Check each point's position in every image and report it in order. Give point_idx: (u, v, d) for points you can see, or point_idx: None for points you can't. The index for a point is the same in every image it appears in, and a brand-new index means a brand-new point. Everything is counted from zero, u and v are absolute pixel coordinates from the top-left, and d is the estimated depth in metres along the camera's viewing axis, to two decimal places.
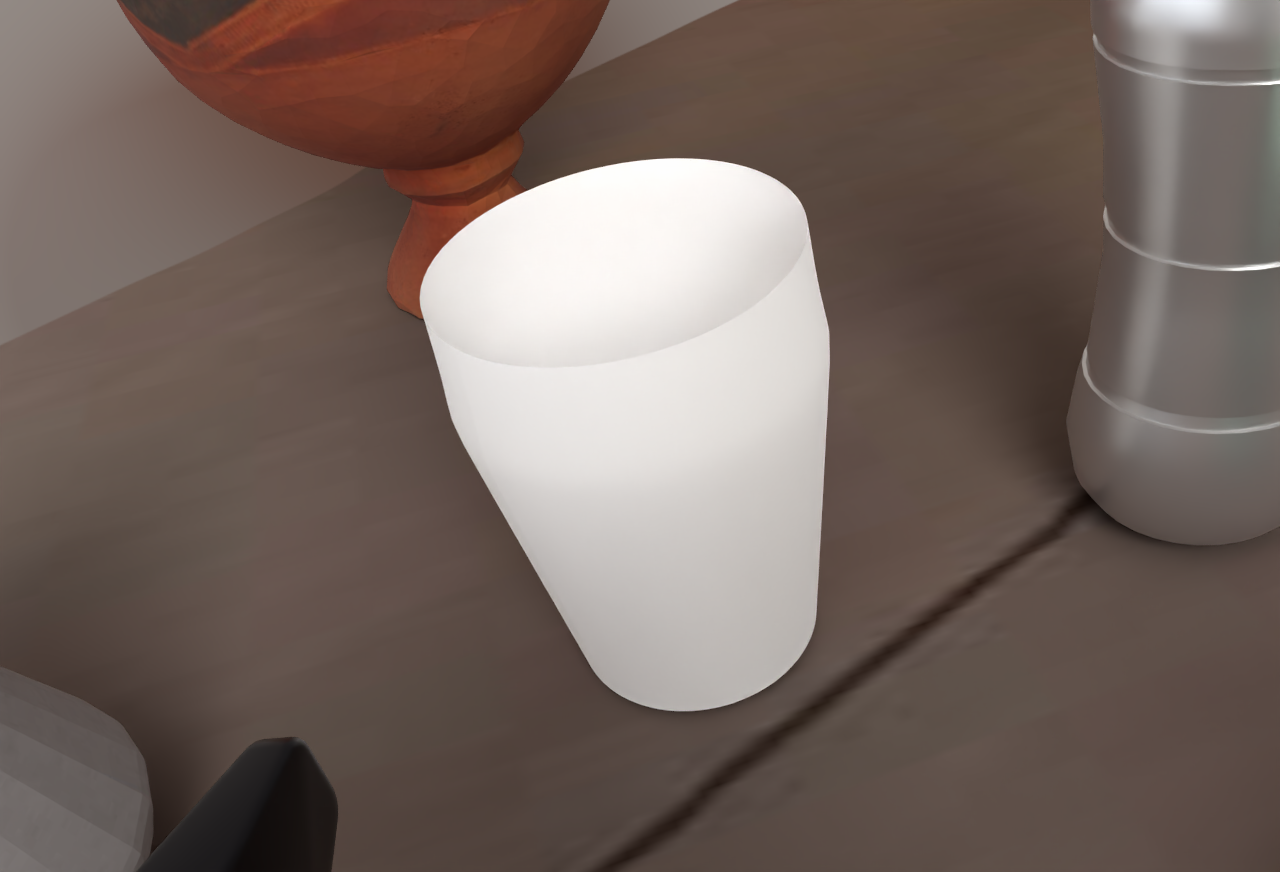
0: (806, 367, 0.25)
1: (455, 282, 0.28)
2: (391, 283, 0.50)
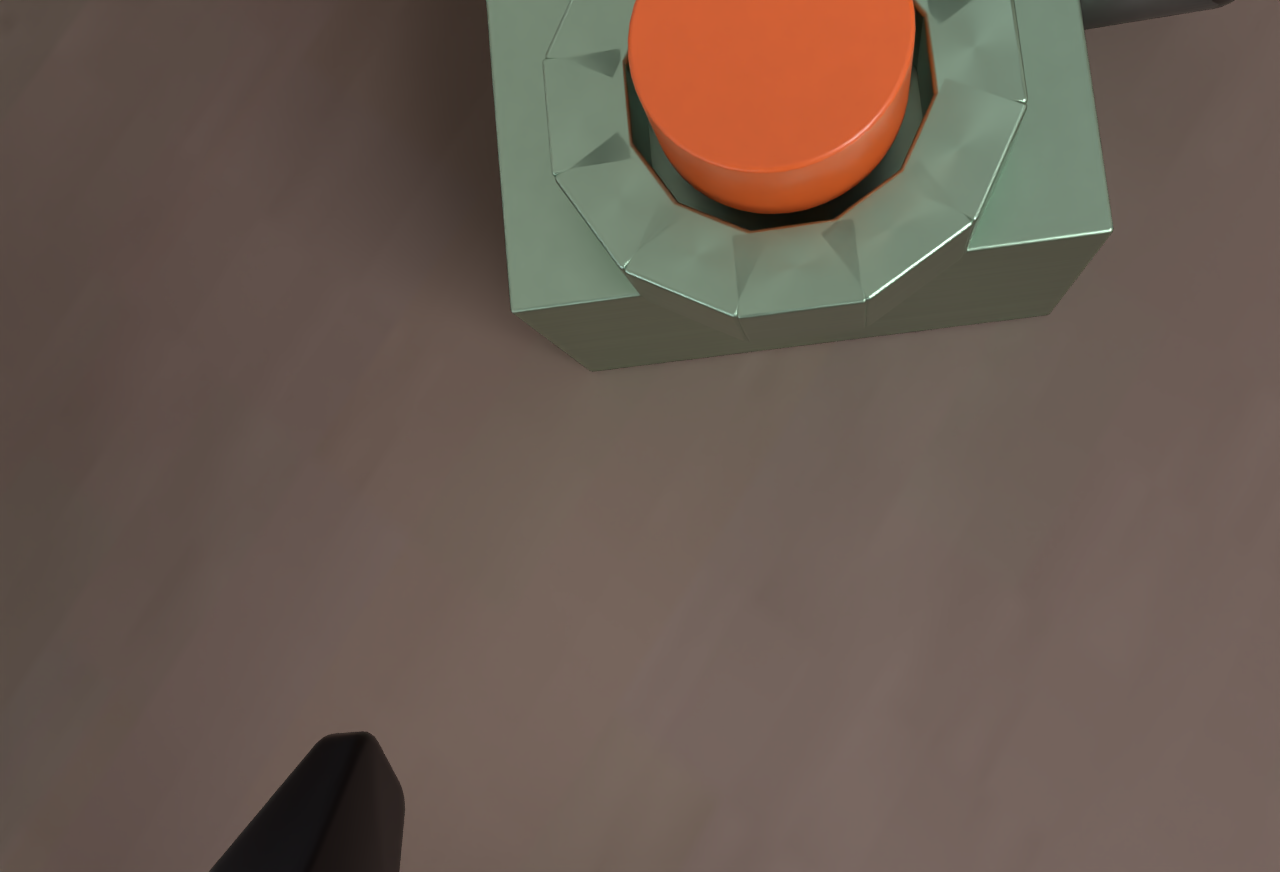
0: None
1: None
2: None
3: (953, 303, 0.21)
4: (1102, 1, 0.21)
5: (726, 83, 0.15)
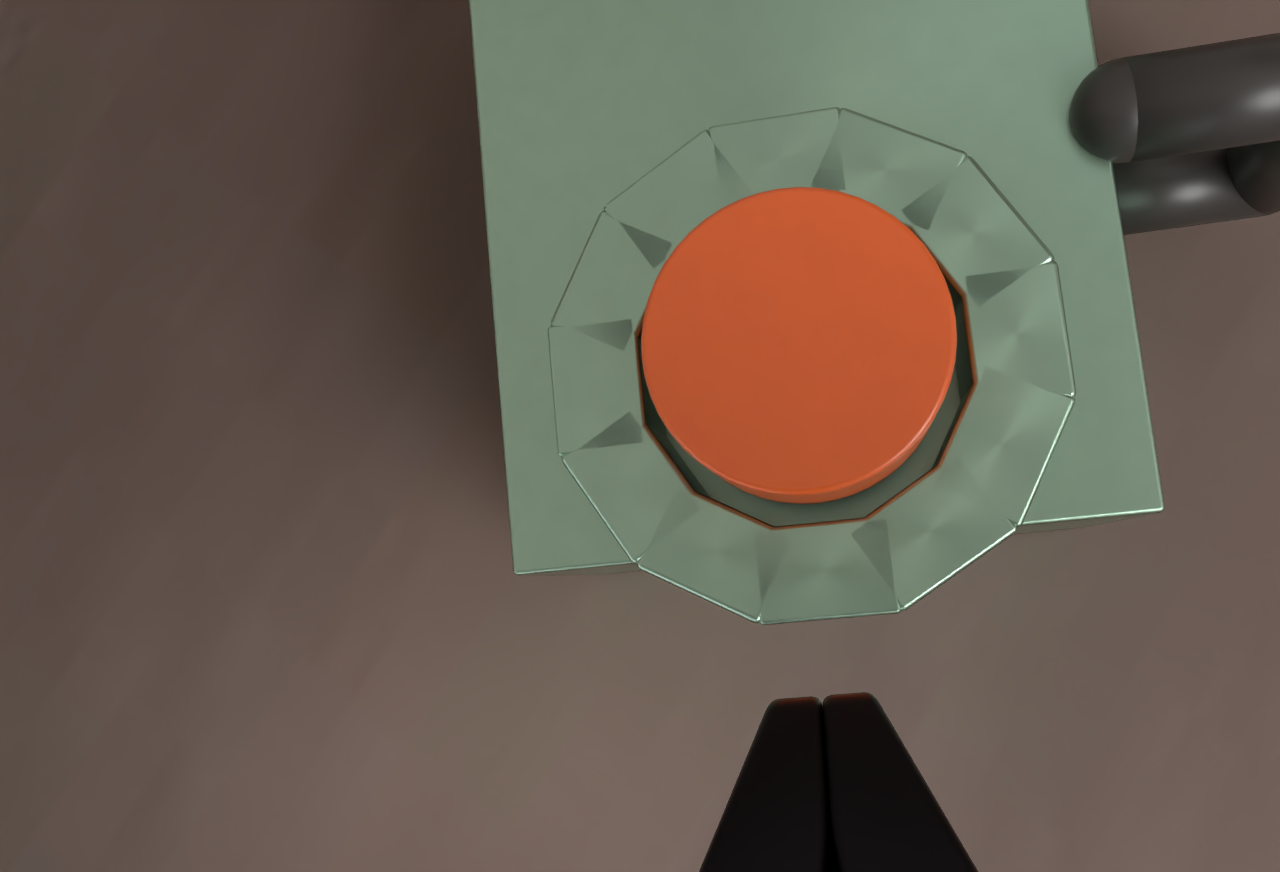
0: None
1: None
2: None
3: None
4: (1143, 212, 0.19)
5: (749, 393, 0.14)
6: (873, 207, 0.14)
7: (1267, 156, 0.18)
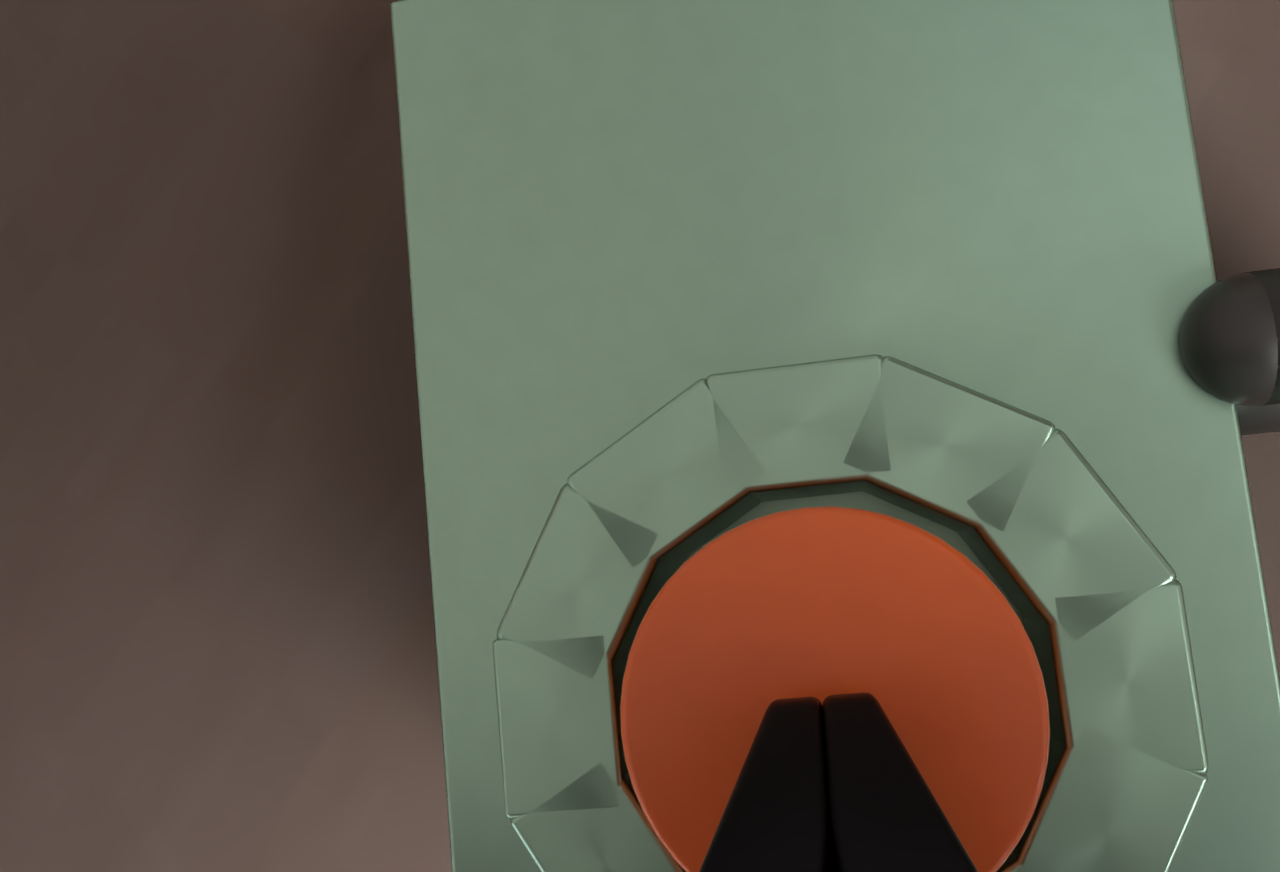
0: None
1: None
2: None
3: None
4: (1249, 417, 0.16)
5: None
6: (934, 543, 0.10)
7: None
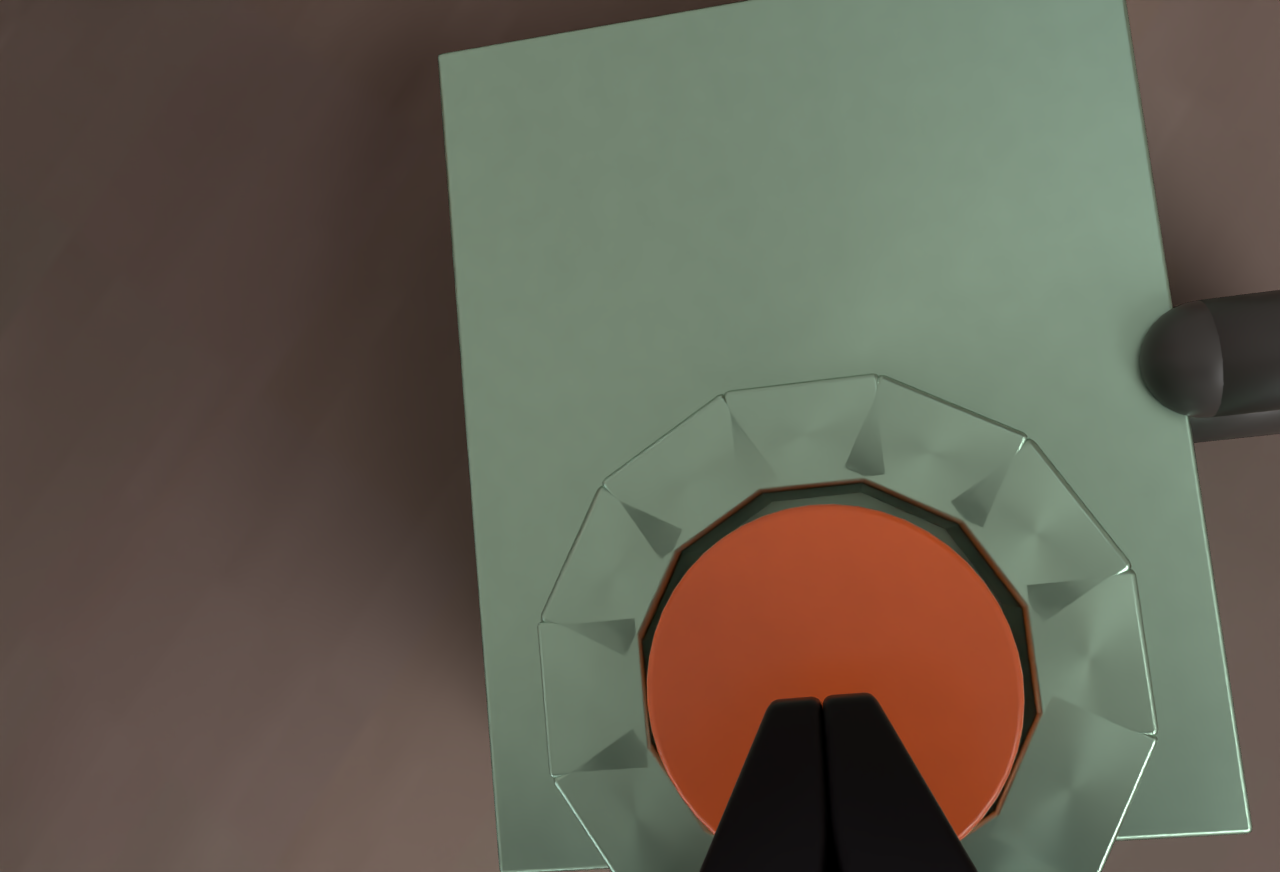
0: None
1: None
2: None
3: None
4: (1209, 425, 0.17)
5: None
6: (923, 536, 0.11)
7: None
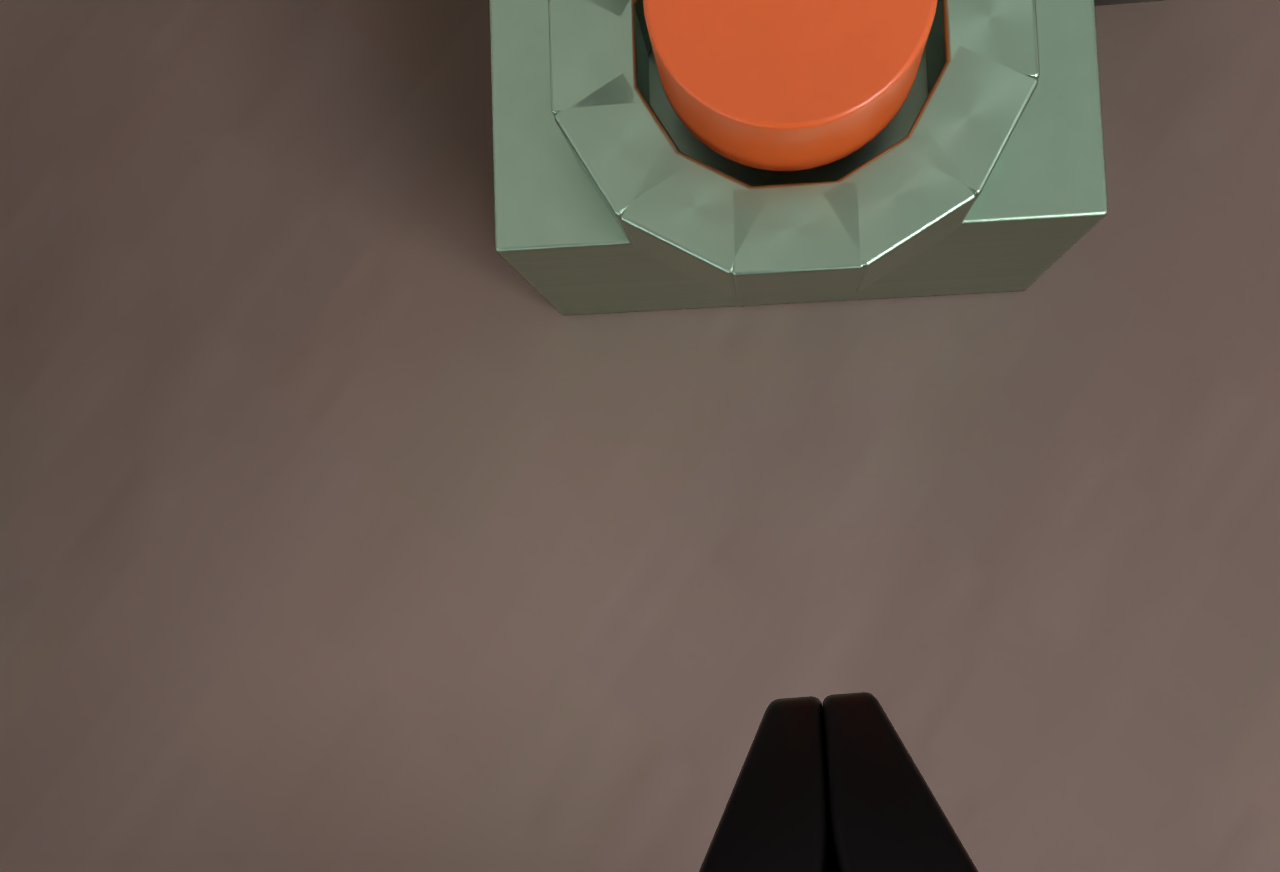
0: None
1: None
2: None
3: (935, 274, 0.21)
4: None
5: (742, 33, 0.14)
6: None
7: None
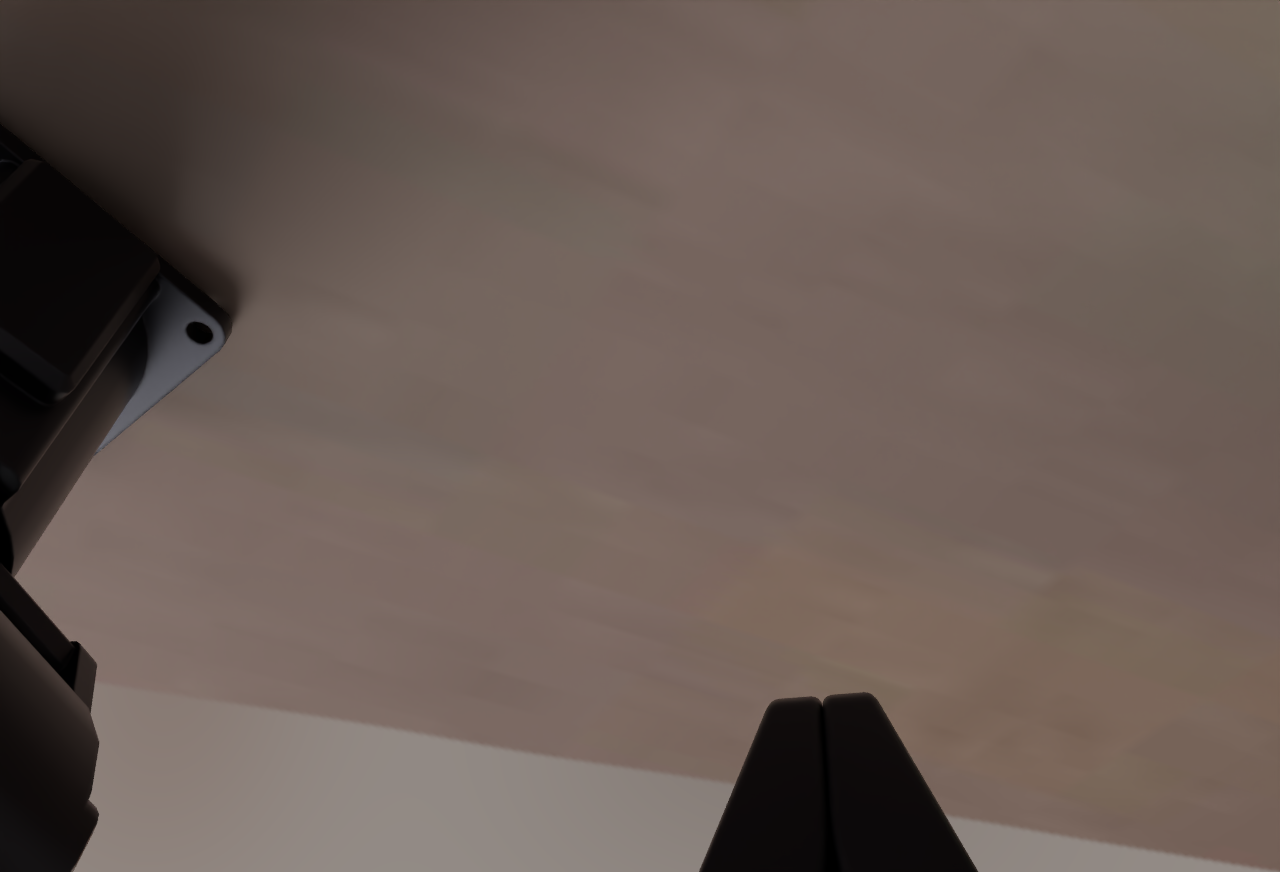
0: None
1: None
2: None
3: None
4: None
5: None
6: None
7: None
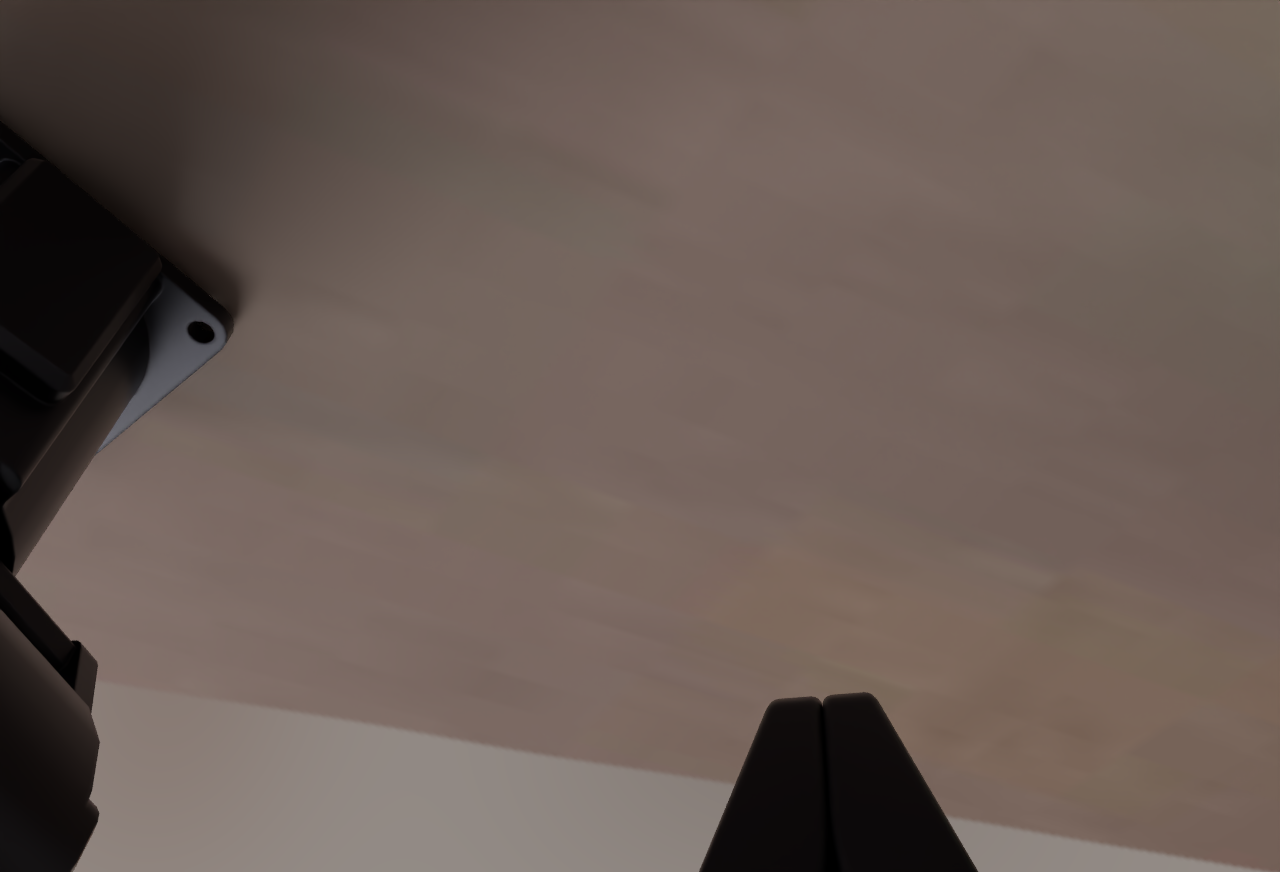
0: None
1: None
2: None
3: None
4: None
5: None
6: None
7: None
